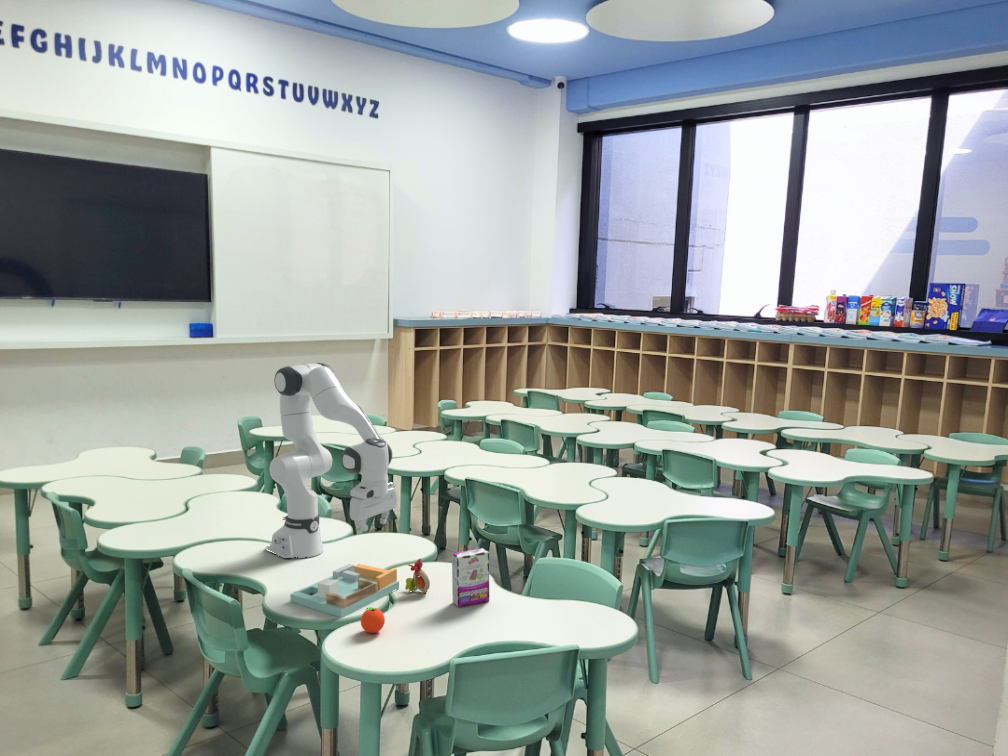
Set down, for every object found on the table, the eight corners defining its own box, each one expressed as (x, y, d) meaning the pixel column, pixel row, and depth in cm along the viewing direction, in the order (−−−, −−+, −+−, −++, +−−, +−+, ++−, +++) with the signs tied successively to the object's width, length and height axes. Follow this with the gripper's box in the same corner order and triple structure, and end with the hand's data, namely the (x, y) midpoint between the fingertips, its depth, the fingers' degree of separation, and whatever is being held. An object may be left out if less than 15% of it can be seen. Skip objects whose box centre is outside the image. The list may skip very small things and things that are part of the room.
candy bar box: (482, 596, 250) (483, 547, 248) (489, 601, 245) (490, 552, 244) (451, 602, 245) (451, 552, 243) (457, 608, 240) (457, 557, 238)
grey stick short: (332, 577, 258) (332, 571, 258) (349, 570, 265) (349, 564, 265) (337, 578, 257) (337, 572, 257) (354, 571, 264) (354, 565, 264)
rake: (341, 581, 255) (341, 569, 254) (359, 572, 263) (358, 561, 263) (380, 590, 248) (379, 578, 247) (396, 580, 256) (396, 568, 256)
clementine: (355, 629, 225) (354, 605, 224) (376, 623, 229) (376, 600, 228) (367, 639, 218) (366, 615, 218) (389, 633, 222) (388, 609, 222)
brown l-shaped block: (326, 602, 237) (326, 593, 237) (360, 586, 250) (360, 577, 250) (344, 608, 233) (344, 598, 233) (378, 591, 246) (378, 582, 246)
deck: (290, 601, 244) (290, 594, 244) (349, 575, 267) (349, 568, 267) (341, 617, 233) (341, 609, 232) (399, 588, 255) (399, 581, 255)
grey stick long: (342, 578, 257) (342, 572, 257) (347, 576, 259) (346, 570, 259) (355, 582, 254) (355, 575, 254) (360, 580, 256) (360, 573, 256)
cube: (317, 597, 242) (317, 583, 241) (326, 591, 246) (326, 578, 245) (329, 599, 240) (329, 585, 239) (338, 594, 244) (338, 580, 244)
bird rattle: (431, 596, 255) (413, 579, 259) (441, 569, 251) (422, 553, 255) (418, 602, 250) (399, 585, 254) (428, 575, 246) (409, 558, 251)
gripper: (388, 479, 268) (387, 517, 270) (346, 492, 251) (346, 532, 253) (402, 482, 265) (401, 521, 267) (361, 495, 248) (360, 537, 250)
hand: (374, 526), depth 260 cm, fingers open, 8 cm apart
